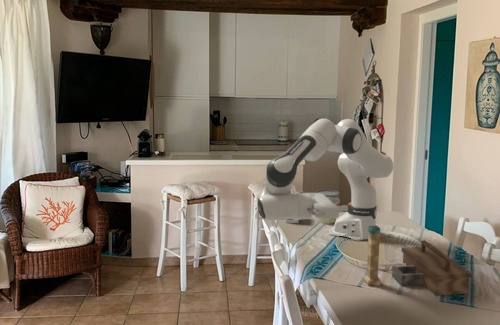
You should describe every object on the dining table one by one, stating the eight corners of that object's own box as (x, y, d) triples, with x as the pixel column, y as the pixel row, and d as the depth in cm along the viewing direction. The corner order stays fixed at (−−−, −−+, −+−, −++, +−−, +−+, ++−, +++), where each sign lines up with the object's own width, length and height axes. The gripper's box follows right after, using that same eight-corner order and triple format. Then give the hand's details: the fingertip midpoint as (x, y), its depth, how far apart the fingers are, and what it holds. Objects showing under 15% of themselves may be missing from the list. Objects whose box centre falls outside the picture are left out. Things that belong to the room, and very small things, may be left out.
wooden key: (368, 285, 177) (370, 229, 174) (364, 280, 182) (366, 225, 178) (380, 285, 178) (382, 228, 174) (375, 279, 182) (378, 224, 179)
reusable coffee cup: (313, 217, 261) (313, 189, 258) (337, 217, 261) (337, 189, 258) (315, 224, 249) (315, 195, 246) (340, 224, 248) (341, 195, 246)
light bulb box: (298, 223, 251) (298, 202, 249) (285, 222, 252) (285, 202, 250) (300, 217, 261) (300, 197, 259) (287, 216, 262) (287, 197, 260)
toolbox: (413, 297, 168) (415, 265, 166) (382, 267, 194) (383, 238, 192) (470, 293, 170) (473, 262, 168) (432, 264, 197) (433, 236, 195)
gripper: (312, 205, 162) (353, 203, 163) (298, 190, 182) (335, 188, 183) (312, 224, 163) (352, 221, 165) (298, 207, 183) (334, 205, 185)
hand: (343, 204), depth 174 cm, fingers open, 8 cm apart
